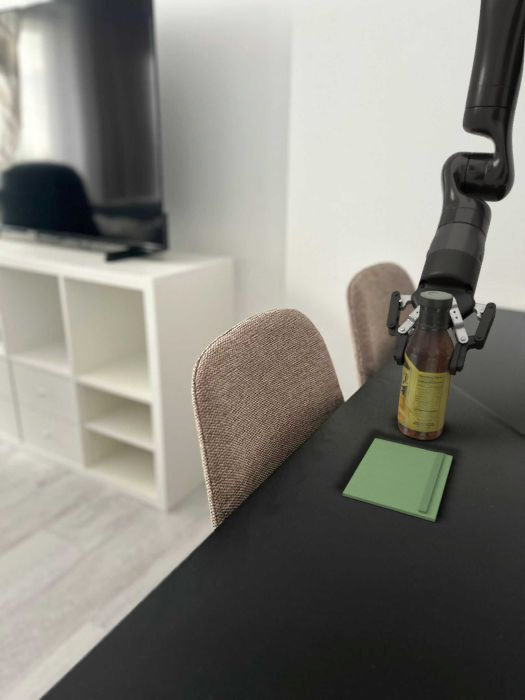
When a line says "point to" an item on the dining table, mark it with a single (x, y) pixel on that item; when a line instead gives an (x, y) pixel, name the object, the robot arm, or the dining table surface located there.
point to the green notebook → (401, 479)
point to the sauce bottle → (427, 370)
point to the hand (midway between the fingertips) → (425, 367)
